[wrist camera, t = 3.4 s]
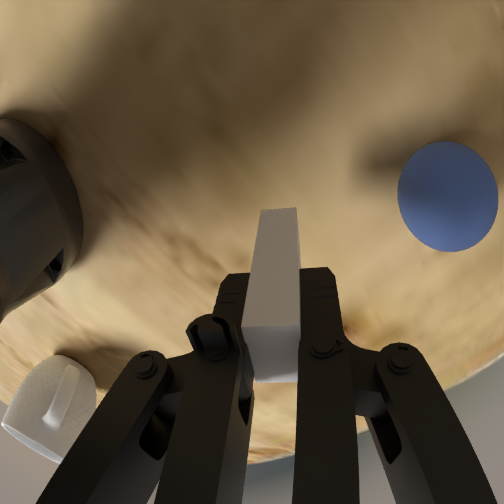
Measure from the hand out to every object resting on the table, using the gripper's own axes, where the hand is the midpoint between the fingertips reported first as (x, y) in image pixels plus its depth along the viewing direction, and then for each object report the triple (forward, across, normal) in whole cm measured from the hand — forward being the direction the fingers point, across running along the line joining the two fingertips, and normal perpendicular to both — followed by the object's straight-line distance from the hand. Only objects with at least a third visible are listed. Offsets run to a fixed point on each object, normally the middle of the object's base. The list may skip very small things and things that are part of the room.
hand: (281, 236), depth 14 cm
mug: (+6, -29, -21) cm, 36 cm away
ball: (+3, +9, 0) cm, 10 cm away
